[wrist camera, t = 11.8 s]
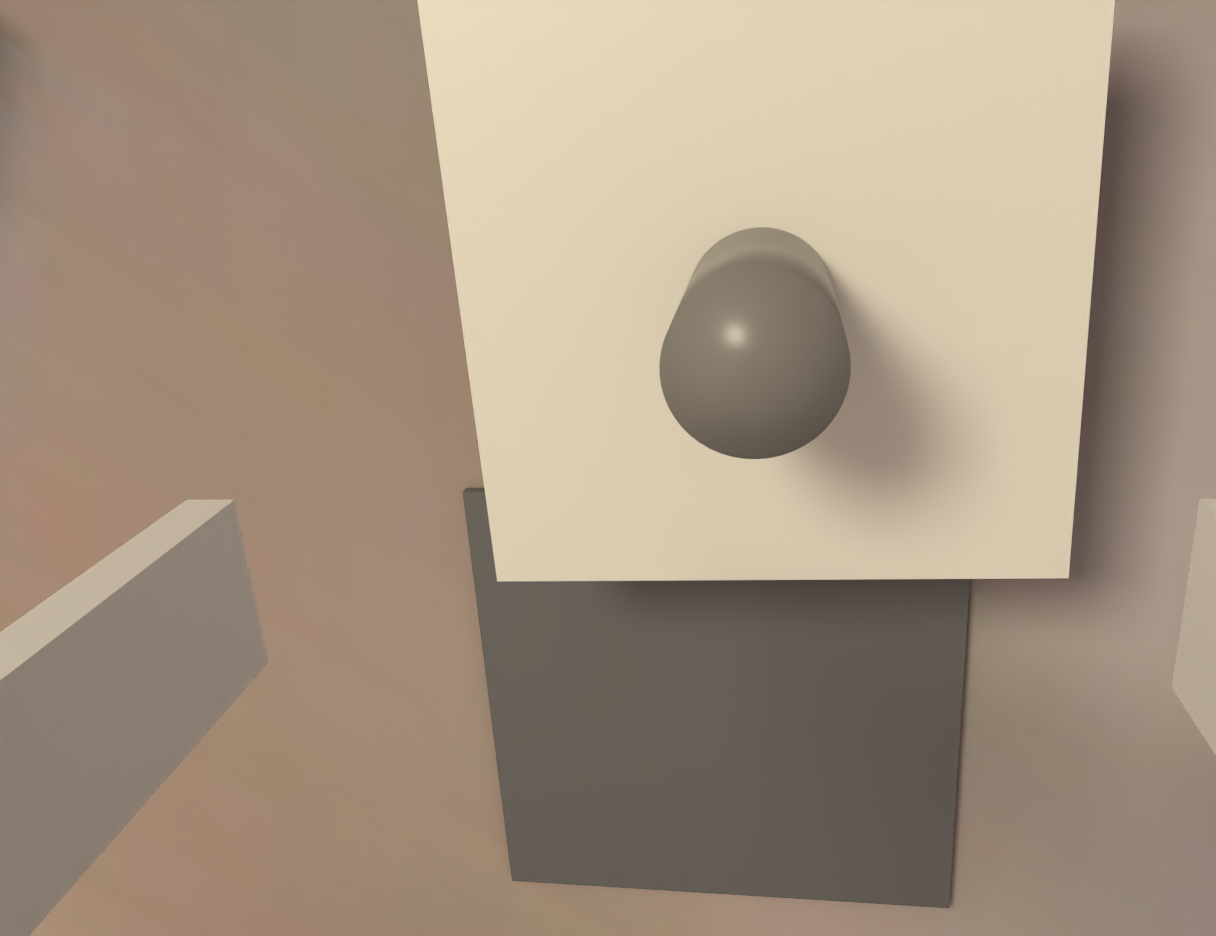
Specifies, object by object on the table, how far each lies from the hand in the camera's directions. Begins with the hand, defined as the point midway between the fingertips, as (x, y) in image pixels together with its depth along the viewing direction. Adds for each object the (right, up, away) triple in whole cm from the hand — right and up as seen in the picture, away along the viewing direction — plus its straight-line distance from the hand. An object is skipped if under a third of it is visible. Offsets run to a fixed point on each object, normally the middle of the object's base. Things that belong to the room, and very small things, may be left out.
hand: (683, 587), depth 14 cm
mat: (+4, -9, +32) cm, 33 cm away
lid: (+4, +7, +18) cm, 20 cm away
